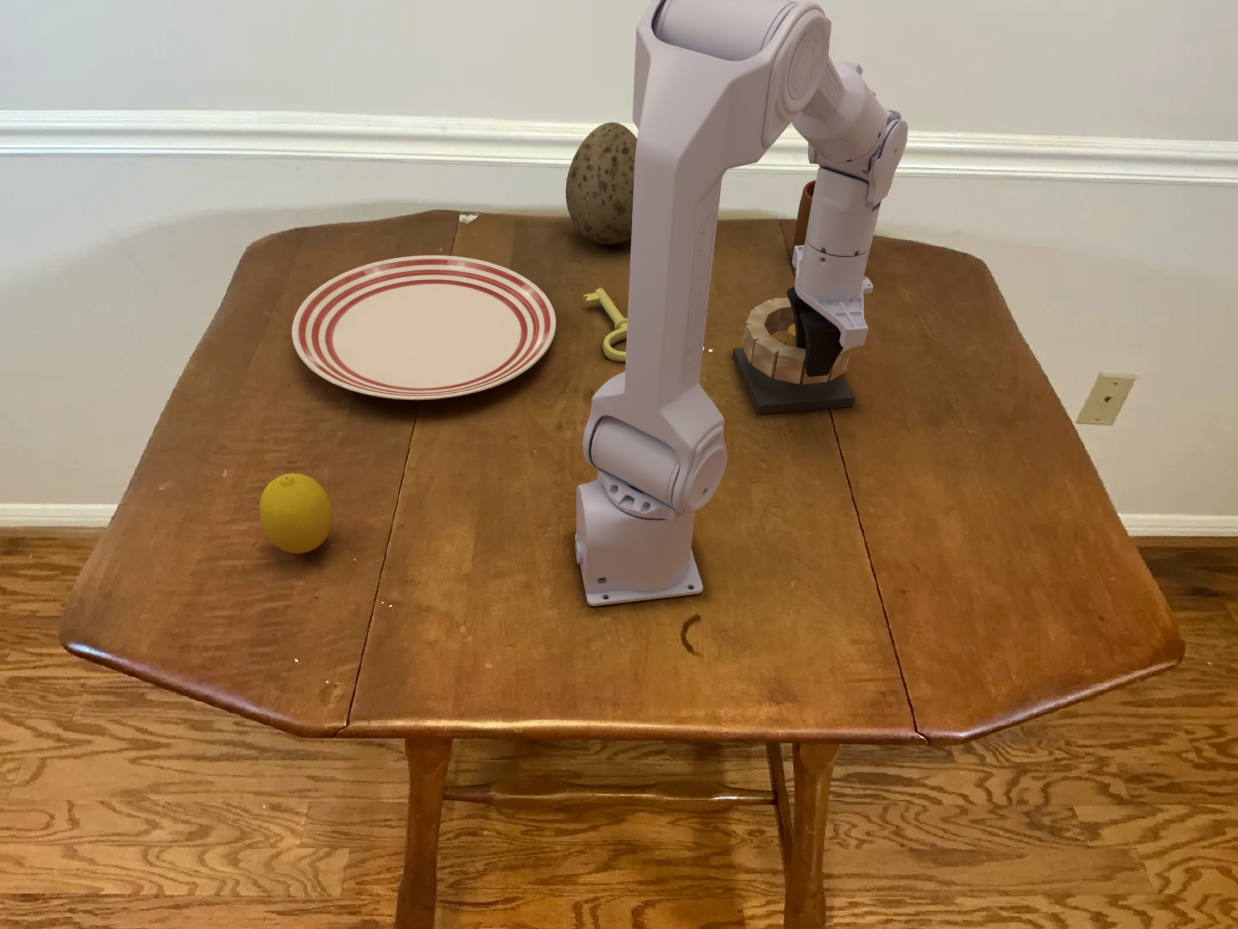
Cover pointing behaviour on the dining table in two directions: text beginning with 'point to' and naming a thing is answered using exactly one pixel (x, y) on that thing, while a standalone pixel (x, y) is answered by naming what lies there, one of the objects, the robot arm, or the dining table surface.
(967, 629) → the dining table surface
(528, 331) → the dinner plate
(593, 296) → the key
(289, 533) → the lemon
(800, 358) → the ring
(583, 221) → the decorative egg
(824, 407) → the peg stand
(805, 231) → the mug
